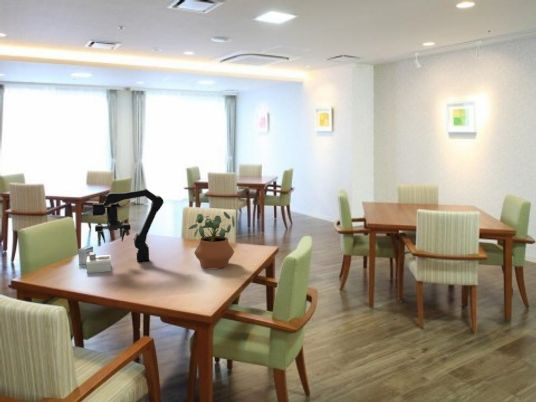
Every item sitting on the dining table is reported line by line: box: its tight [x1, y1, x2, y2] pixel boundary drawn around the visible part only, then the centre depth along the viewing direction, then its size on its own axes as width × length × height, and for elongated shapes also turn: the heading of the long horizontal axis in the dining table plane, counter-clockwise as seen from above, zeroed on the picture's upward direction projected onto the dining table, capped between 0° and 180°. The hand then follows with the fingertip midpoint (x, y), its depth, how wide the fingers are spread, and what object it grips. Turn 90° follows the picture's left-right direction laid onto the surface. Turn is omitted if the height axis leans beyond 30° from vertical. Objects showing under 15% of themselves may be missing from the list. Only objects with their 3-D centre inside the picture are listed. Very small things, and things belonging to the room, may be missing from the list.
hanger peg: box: [89, 251, 97, 260], centre depth 241 cm, size 4×6×8 cm
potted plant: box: [188, 211, 235, 269], centre depth 251 cm, size 23×28×30 cm
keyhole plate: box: [85, 254, 112, 274], centre depth 242 cm, size 12×12×6 cm
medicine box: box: [77, 245, 94, 265], centre depth 254 cm, size 8×4×9 cm, turn 168°
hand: (113, 242), depth 253 cm, fingers open, 9 cm apart
